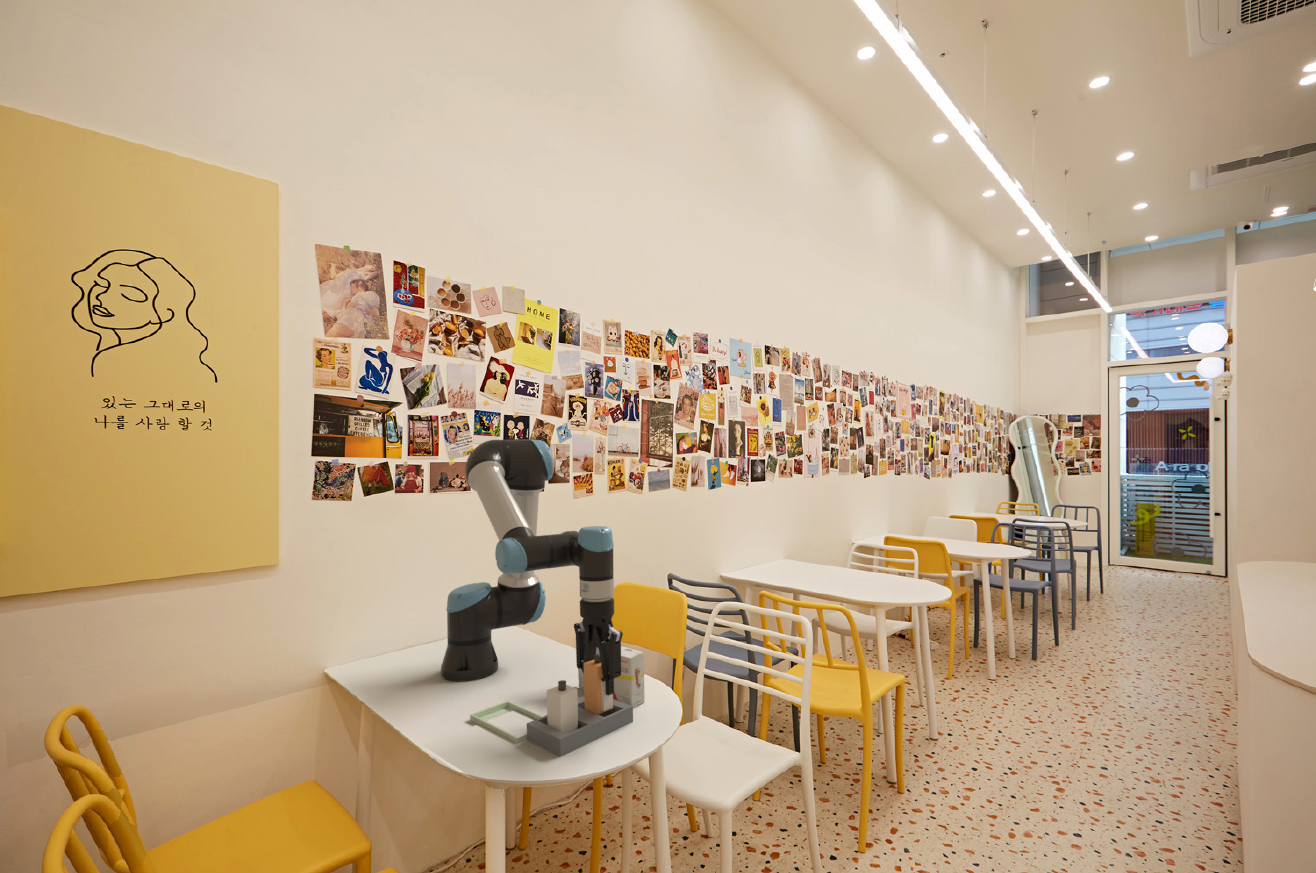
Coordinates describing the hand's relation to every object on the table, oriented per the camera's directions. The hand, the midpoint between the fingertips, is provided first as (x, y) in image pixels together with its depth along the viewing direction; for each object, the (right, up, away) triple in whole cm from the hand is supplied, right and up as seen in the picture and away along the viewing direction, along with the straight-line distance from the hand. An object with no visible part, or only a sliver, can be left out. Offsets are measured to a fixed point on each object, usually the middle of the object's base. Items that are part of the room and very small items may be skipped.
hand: (599, 705), depth 131 cm
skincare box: (-3, -5, +20) cm, 21 cm away
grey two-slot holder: (-3, -4, -4) cm, 7 cm away
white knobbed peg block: (-7, -3, -7) cm, 11 cm away
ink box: (+5, -5, +13) cm, 15 cm away
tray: (-19, -5, +1) cm, 20 cm away
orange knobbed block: (0, -1, 0) cm, 1 cm away
